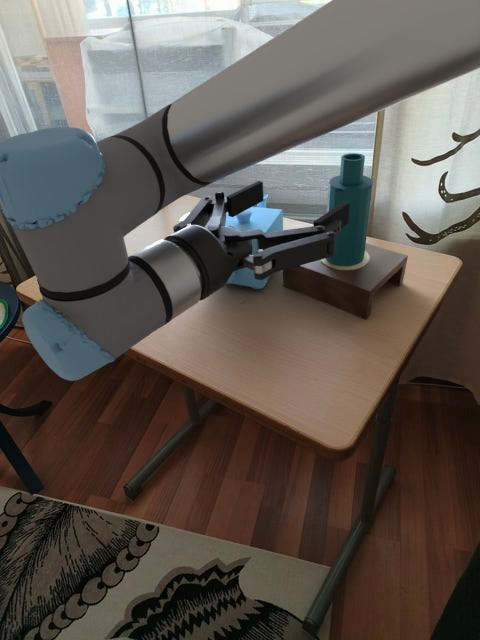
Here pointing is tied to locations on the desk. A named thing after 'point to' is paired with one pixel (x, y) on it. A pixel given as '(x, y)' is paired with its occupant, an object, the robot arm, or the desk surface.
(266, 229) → the teapot
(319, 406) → the desk surface
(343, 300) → the dark brown wooden block
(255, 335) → the desk surface
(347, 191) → the bottle
